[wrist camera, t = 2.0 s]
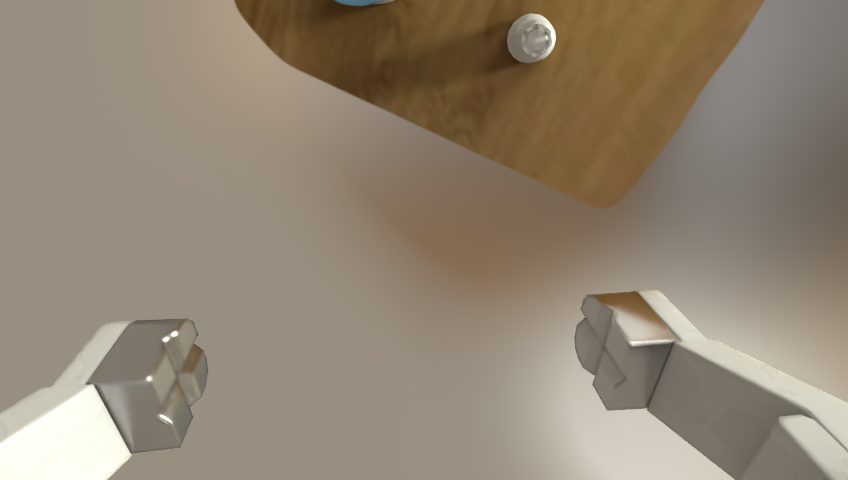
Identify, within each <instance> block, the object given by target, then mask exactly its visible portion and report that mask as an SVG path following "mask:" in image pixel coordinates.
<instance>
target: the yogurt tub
mask: <svg viewBox="0 0 848 480" xmlns="http://www.w3.org/2000/svg"><path fill="white" fill-rule="evenodd" d="M334 1H336V2H338V3H342V4H345V5H350V6H365V5H370V4H385V3H389V2H392V1H394V0H334Z"/></svg>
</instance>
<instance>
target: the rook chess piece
mask: <svg viewBox="0 0 848 480" xmlns="http://www.w3.org/2000/svg"><path fill="white" fill-rule="evenodd" d="M555 40H556V36H555V30H554V29H553V27H552V25H551V24H550V23H549V21H548V20H547V19H546V18H544V17H543V16H541V15H539V14H532V13H530V14H527V15H523V16H521V17H520V18H518V19H517V20H516V21H515V22H514V23H513V24H512V26H511V28H510V29H509V31H508V37H507V45H508V50H509V52H510V53H511V55H512V56H513V58H515V59H517V60H518V61H520V62H524V63H532V62H536V61H539V60H541V59H543V58H545V57H546V56H547V55H549V54H550V52H551V51H552V49H553V48H554V45H555Z"/></svg>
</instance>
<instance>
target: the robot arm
mask: <svg viewBox="0 0 848 480" xmlns="http://www.w3.org/2000/svg"><path fill="white" fill-rule="evenodd" d="M581 311H582V312H583V314H584V316H585V318H584V319H583V320H582V321H581V322H580V323H579V324H578V325H577V327H576V332H575V349H576V353H577V355H578V359H579V361H580V363H581V364H582V366H583V368H584V369H586V370H587V371H589V372H590V373H592V374H593V375H595V378H594V381H593V386H594V388H595V389H596V391H597V393H598V395H599V397H600V399H601V400H602V402H603V404H604V406H605V407H606V409H607V410H626V409H643V408H648V409H647V410H648V411H649V412H650V413H651V414H653V415H654V416H655V417H656V418H658V419H659V420H660V421H661V422H663V423H664V424H665V425H667V426H668V427H669V428H670V429H672V430H673V431H674V432H675V433H677V434H678V435H679V436H680V437H682V438H683V439H684V440H685V441H687V442H688V443H689V444H691V445H692V446H693V447H694V448H696V449H697V450H698V451H699V452H701V453H702V454H703V455H704V456H706V457H707V458H708V459H710V460H711V461H712V462H713V463H715V464H716V465H717V466H718V467H720V468H721V469H722V470H724V471H725V472H726V473H727V474H729V475H730V476H731V477H732V478H734V479H735V480H848V403H846V402H844V401H842V400H840V399H838V398H836V397H833V396H832V395H829V394H828V393H825V392H823V391H821V390H819V389H817V388H815V387H813V386H811V385H809V384H807V383H804V382H802V381H800V380H798V379H796V378H794V377H792V376H790V375H788V374H786V373H784V372H781V371H779V370H777V369H775V368H773V367H771V366H769V365H767V364H765V363H762V362H760V361H758V360H756V359H754V358H752V357H750V356H748V355H746V354H744V353H742V352H739V351H737V350H735V349H733V348H731V347H729V346H727V345H725V344H723V343H721V342H719V341H716V340H714V339H711V340H710V339H709V340H706V339H705V337H704V336H702V334H701V333H700V332H699V331H698V330H697V329H696V328H695V327H694V326H693V325H692V324H691V323H690V322H689V321H688V320H687V319H686V318H685V317H684V316H683V315H682V314H681V313H680V311H678V309H677V308H676V307H675V306H674V305H673V304H672V303H671V302H670V301H669V300H668V299H667V298H666V297H665V296H664V295H663V294H662V293H661V292H660V291H657V290H655V289H650V290H639V291H631V292H620V293H605V294H590V295H587V296H586V297H585V298H584V300H583V303H582V307H581ZM197 335H198V332H197V329H196V327H195V324H194V322H193V321H192V320H189V319H165V320H141V321H139V320H138V321H124V322H108V323H106V324H104V325H101V326H100V327H99V329H98V330H97V331H96V333H95V334H94V335H93V336H92V337H91V338H90V340H89V341H88V342H87V343H86V345H85V346H84V347H83V348H82V350H81V351H80V352H79V353H78V355H77V356H76V357H75V358H74V360H73V361H72V362H71V363H70V364H69V366H68V367H67V368H66V370H65V371H64V372H63V373H62V374H61V376H60V377H59V378H58V379H57V380H56V382H55V383H54V384H53V385H52V387H48V388H41V389H39V390H37V391H36V392H34V393H32V394H31V395H29V396H27V397H26V398H24V399H22V400H21V401H19V402H17V403H16V404H14V405H12V406H11V407H9V408H7V409H5V410H4V411H2V412H0V480H107V479H108V478H109V477H110V476H111V475H112V474H113V473H115V472H116V471H117V470H118V468H120V467H121V466H122V465H123V464H124V463H125V462H126V461H127V460H128V459H129V458H130V457H131V453H138V452H147V451H155V450H165V449H173V448H180V447H181V445H182V442H183V440H184V437H185V435H186V433H187V430H188V428H189V426H190V423H191V421H192V418H193V415H192V413H191V410H190V406H191V405H193V404H194V403H195V402H196V401H198V400H199V399H200V398H201V396H202V394H203V392H204V389H205V386H206V381H207V374H208V368H207V359H206V356H205V353H204V350H202V349H201V348H200V347H198V346H197V345H195V344H194V342H195V340H196V337H197Z"/></svg>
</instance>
